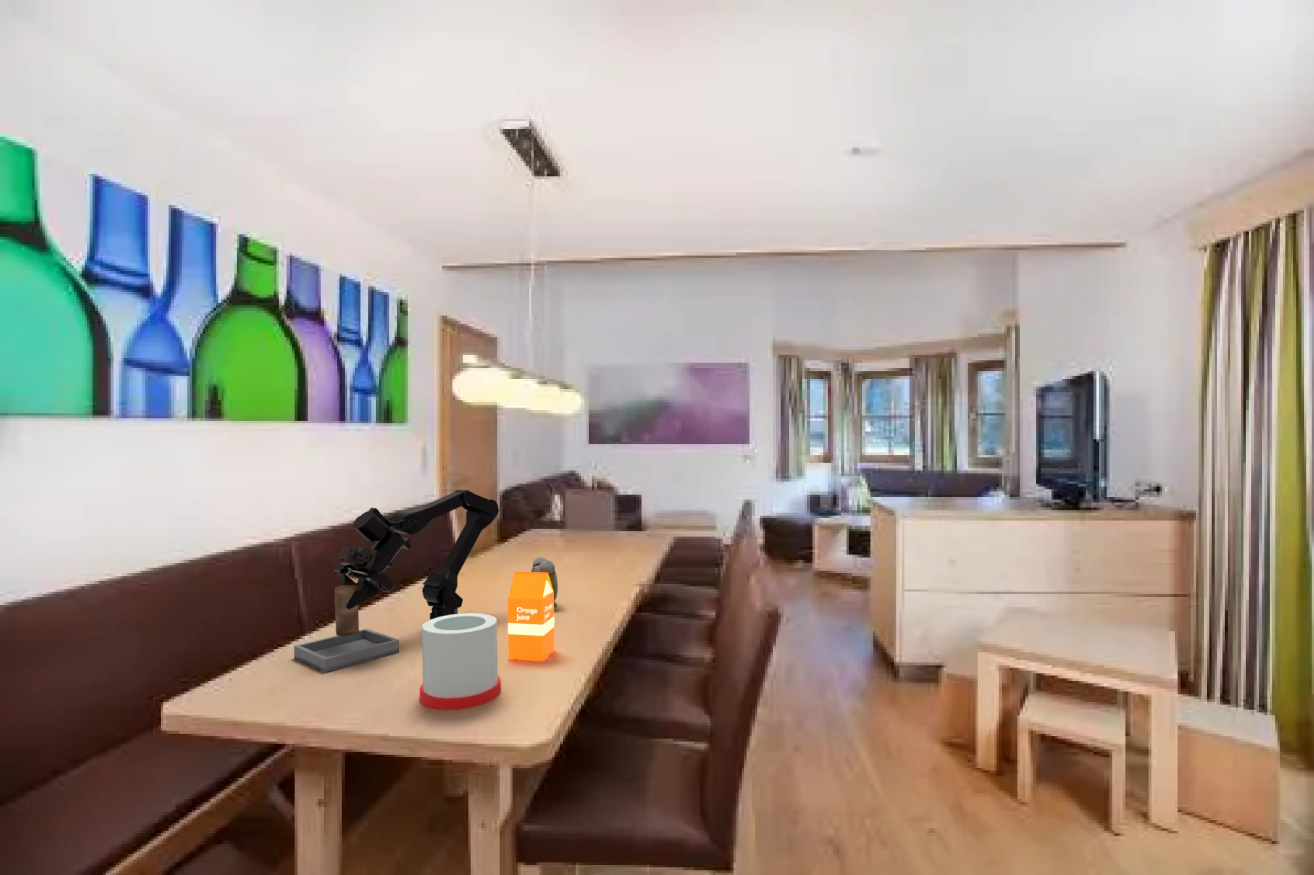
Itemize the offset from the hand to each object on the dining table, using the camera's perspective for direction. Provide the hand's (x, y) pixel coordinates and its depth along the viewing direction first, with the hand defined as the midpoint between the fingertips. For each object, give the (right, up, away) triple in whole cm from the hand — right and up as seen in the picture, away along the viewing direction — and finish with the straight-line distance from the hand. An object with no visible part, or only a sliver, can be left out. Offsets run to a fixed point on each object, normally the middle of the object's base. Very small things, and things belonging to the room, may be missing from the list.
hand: (341, 606), depth 161 cm
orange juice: (+45, -12, +1) cm, 47 cm away
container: (+35, -12, -23) cm, 44 cm away
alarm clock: (+42, -12, +45) cm, 63 cm away
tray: (0, -12, +3) cm, 13 cm away
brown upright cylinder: (+1, -7, +1) cm, 7 cm away
